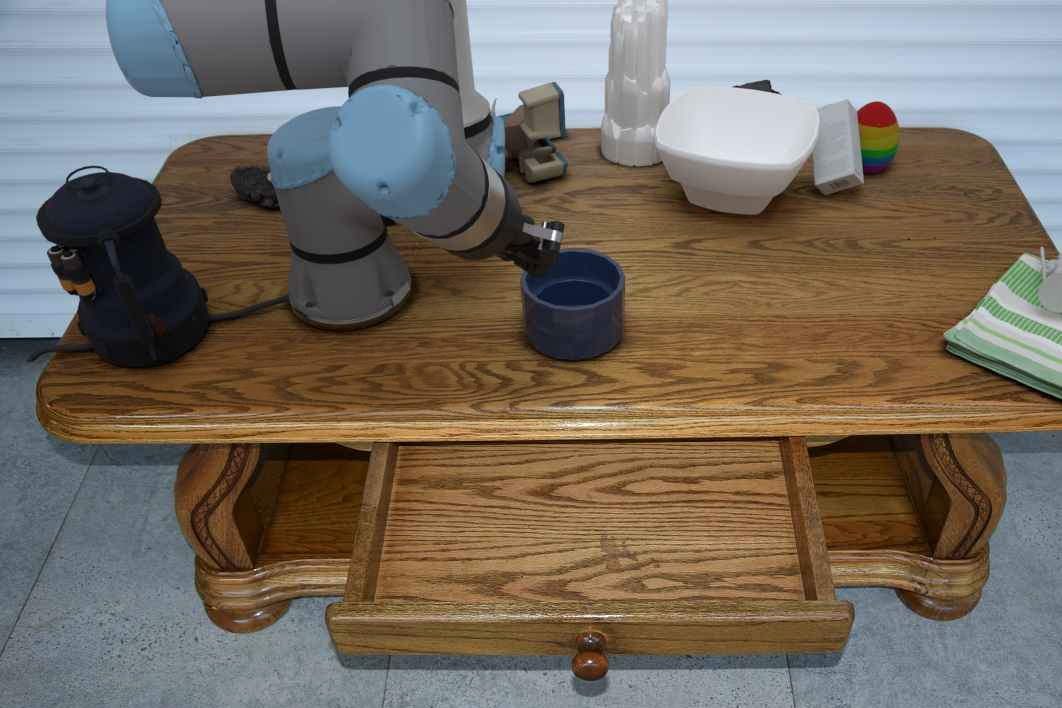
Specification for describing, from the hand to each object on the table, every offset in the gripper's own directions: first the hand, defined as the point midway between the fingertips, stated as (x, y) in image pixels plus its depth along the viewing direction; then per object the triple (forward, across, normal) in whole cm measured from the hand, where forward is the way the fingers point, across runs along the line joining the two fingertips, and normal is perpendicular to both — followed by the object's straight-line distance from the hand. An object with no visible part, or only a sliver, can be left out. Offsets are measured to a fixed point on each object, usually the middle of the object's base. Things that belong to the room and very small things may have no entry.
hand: (541, 264), depth 96 cm
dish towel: (+30, -55, -7) cm, 63 cm away
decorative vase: (+51, +5, -28) cm, 58 cm away
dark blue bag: (+4, +54, +3) cm, 55 cm away
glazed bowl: (+19, 0, +5) cm, 19 cm away
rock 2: (+60, -10, -44) cm, 75 cm away
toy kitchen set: (+39, +22, -26) cm, 52 cm away
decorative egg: (+55, -30, -31) cm, 70 cm away
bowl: (+44, -12, -21) cm, 50 cm away
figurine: (+27, -55, -11) cm, 63 cm away
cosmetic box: (+44, -27, -25) cm, 58 cm away
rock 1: (+31, +50, -8) cm, 59 cm away
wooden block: (+37, +20, -23) cm, 47 cm away
